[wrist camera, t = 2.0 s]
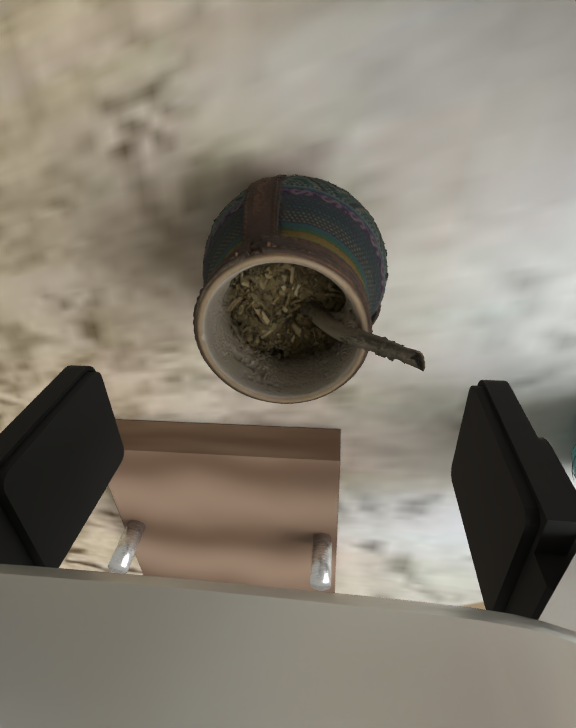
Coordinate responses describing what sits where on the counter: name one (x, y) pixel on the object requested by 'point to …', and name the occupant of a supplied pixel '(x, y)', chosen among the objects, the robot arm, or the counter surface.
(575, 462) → the beverage bottle
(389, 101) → the counter surface
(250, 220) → the mate gourd
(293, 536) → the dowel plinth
